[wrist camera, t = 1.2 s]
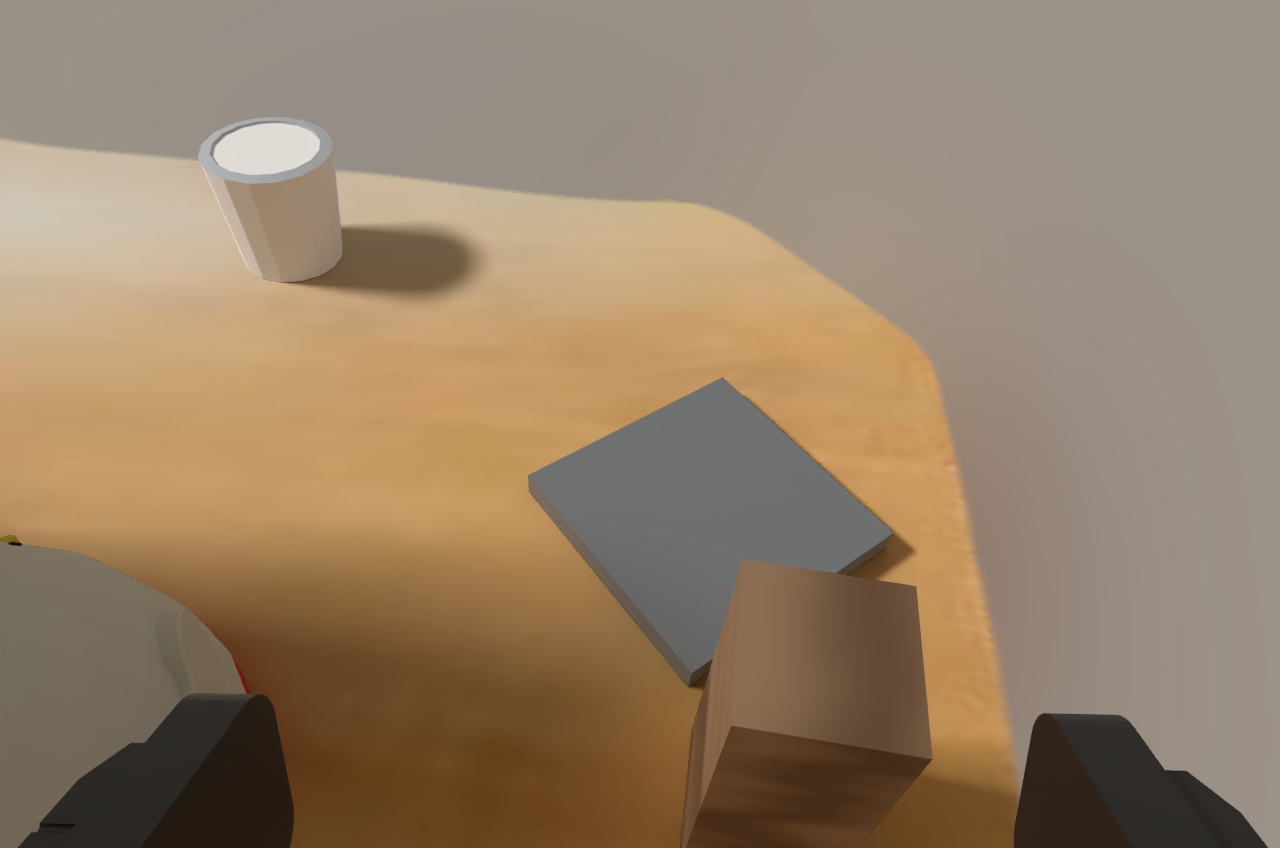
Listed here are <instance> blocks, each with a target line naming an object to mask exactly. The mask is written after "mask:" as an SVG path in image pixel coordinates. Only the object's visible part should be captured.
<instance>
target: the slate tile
mask: <svg viewBox="0 0 1280 848" xmlns="http://www.w3.org/2000/svg"><path fill="white" fill-rule="evenodd" d="M528 481H529V492H530V493H531V494H532V496H533V497H534V498H535V499H536V501H537V502H538V503H539V504H540V506H541V507H542V508H543V509H544V510H545V512H546V513H547V514H548V515H549V517H550V518H551V519H552V520H553V521H554V523H555V524H556V525H557V526H558V528H559V529H560V530H561V531H562V533H563V534H564V535H565V536H566V537H567V539H568V540H569V541H570V542H571V544H572V545H573V546H574V547H575V549H576V550H577V551H578V552H579V553H580V555H581V556H582V557H583V558H584V560H585V561H586V562H587V563H588V565H589V566H590V567H591V568H592V569H593V571H594V572H595V573H596V574H597V576H598V577H599V578H600V579H601V581H602V582H603V583H604V584H605V585H606V587H607V588H608V589H609V590H610V592H611V593H612V594H613V595H614V596H615V598H616V599H617V600H618V601H619V603H620V604H621V605H622V606H623V608H624V609H625V610H626V611H627V612H628V614H629V615H630V616H631V617H632V619H633V620H634V621H635V622H636V624H637V625H638V626H639V627H640V628H641V630H642V631H643V632H644V633H645V635H646V636H647V637H648V638H649V640H650V641H651V642H652V643H653V644H654V646H655V647H656V648H657V649H658V651H659V652H660V653H661V654H662V656H663V657H664V658H665V659H666V660H667V662H668V663H669V664H670V665H671V667H672V668H673V669H674V670H675V671H676V673H677V674H678V675H679V676H680V678H681V679H682V680H683V681H684V683H685V684H686V685H687V686H688V687H689V686H690V685H692V684H693V683H694V682H696V681H697V680H699V679H700V678H701V677H703V676H704V675H706V674H707V673H709V670H710V667H711V664H712V660H713V657H714V654H715V650H716V647H717V643H718V640H719V637H720V633H721V630H722V626H723V623H724V620H725V616H726V613H727V610H728V606H729V603H730V599H731V596H732V593H733V589H734V586H735V582H736V579H737V576H738V572H739V569H740V566H741V562H742V559H748V560H754V561H761V562H767V563H773V564H779V565H786V566H792V567H798V568H804V569H811V570H817V571H823V572H829V573H836V574H842V575H848V574H849V573H851V572H852V571H854V570H855V569H856V568H858V567H859V566H861V565H862V564H864V563H865V562H866V561H868V560H869V559H871V558H872V557H874V556H875V555H876V554H878V553H879V552H881V551H882V550H883V549H885V548H886V547H887V545H888V543H889V541H890V539H891V537H892V535H893V532H892V531H891V530H890V529H889V528H888V527H886V526H885V525H884V524H883V523H882V522H881V521H880V520H879V519H878V518H877V517H875V516H874V515H873V514H872V513H871V512H870V511H869V510H868V509H867V508H866V507H865V506H863V505H862V504H861V503H860V502H859V501H858V500H857V499H856V498H855V497H854V496H852V495H851V494H850V493H849V492H848V491H847V490H846V489H845V488H844V487H843V486H841V485H840V484H839V483H838V482H837V481H836V480H835V479H834V478H833V477H832V476H830V475H829V474H828V473H827V472H826V471H825V470H824V469H823V468H822V467H821V466H820V465H818V464H817V463H816V462H815V461H814V460H813V459H812V458H811V457H810V456H809V455H807V454H806V453H805V452H804V451H803V450H802V449H801V448H800V447H799V446H798V445H796V444H795V443H794V442H793V441H792V440H791V439H790V438H789V437H788V436H787V435H786V434H784V433H783V432H782V431H781V430H780V429H779V428H778V427H777V426H776V425H775V424H773V423H772V422H771V421H770V420H769V419H768V418H767V417H766V416H765V415H764V414H762V413H761V412H760V411H759V410H758V409H757V408H756V407H755V406H754V405H753V404H752V403H750V402H749V401H748V400H747V399H746V398H745V397H744V396H743V395H742V394H741V393H739V392H738V391H737V390H736V389H735V388H734V387H733V386H732V385H731V384H730V383H728V382H727V381H726V380H725V379H724V378H723V377H722V378H720V379H718V380H716V381H714V382H712V383H710V384H708V385H706V386H704V387H702V388H700V389H698V390H696V391H694V392H692V393H691V394H689V395H687V396H685V397H683V398H681V399H679V400H677V401H675V402H673V403H671V404H669V405H667V406H665V407H663V408H661V409H659V410H657V411H655V412H653V413H651V414H649V415H647V416H645V417H643V418H641V419H639V420H637V421H635V422H633V423H631V424H629V425H627V426H625V427H623V428H621V429H619V430H617V431H615V432H613V433H611V434H609V435H607V436H605V437H603V438H601V439H599V440H597V441H595V442H593V443H591V444H589V445H587V446H585V447H583V448H581V449H579V450H577V451H575V452H573V453H571V454H569V455H567V456H565V457H563V458H561V459H559V460H557V461H555V462H553V463H551V464H549V465H547V466H546V467H544V468H542V469H540V470H538V471H536V472H534V473H532V474H530V475H528Z"/></svg>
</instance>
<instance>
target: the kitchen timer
mask: <svg viewBox="0 0 1280 848" xmlns="http://www.w3.org/2000/svg"><path fill="white" fill-rule="evenodd" d="M192 693H216V694H250V692H249V690H248V687H247V685H246V682H245V679H244V677H243V674H242V672H241V670H240V669H239V667H238V665H237V663H236V662H235V660H234V658H233V656H232V655H231V653H230V652H229V651H228V650H227V649H226V647H225V646H224V645H223V644H222V643H221V642H220V641H219V640H218V639H217V638H216V637H215V636H214V635H213V633H212V632H211V631H210V630H209V629H208V628H207V627H206V626H205V625H204V624H203V623H202V622H201V621H200V620H199V619H198V617H197V616H196V615H195V614H194V613H192V612H191V611H190V610H189V609H188V608H187V607H185V606H184V605H182V604H181V603H179V602H178V601H176V600H174V599H173V598H171V597H169V596H167V595H165V594H163V593H162V592H160V591H158V590H156V589H154V588H152V587H150V586H148V585H146V584H144V583H142V582H140V581H138V580H136V579H134V578H132V577H130V576H128V575H126V574H124V573H122V572H120V571H118V570H116V569H114V568H112V567H110V566H108V565H106V564H103V563H101V562H99V561H97V560H95V559H93V558H90V557H87V556H84V555H81V554H77V553H73V552H68V551H62V550H56V549H50V548H43V547H37V546H30V545H24V544H22V543H20V542H19V541H18V539H17V538H16V537H15V536H13V535H8V536H5V537H2V538H0V848H18V846H19V845H20V844H21V843H22V842H23V841H24V840H25V839H26V837H27V836H28V835H29V834H30V833H31V832H37V831H38V829H39V826H40V824H39V823H40V822H41V821H42V820H43V818H44V817H45V816H46V815H47V814H48V813H49V812H50V811H51V810H52V808H53V807H54V806H55V805H56V804H57V803H58V802H59V801H60V799H61V798H62V797H63V796H64V795H65V794H66V793H67V792H68V791H69V789H70V788H71V787H72V786H73V785H74V784H75V783H76V782H77V780H78V779H80V778H81V777H82V776H84V775H85V774H87V773H88V772H90V771H91V770H92V769H94V768H95V767H97V766H98V765H100V764H101V763H103V762H104V761H105V760H107V759H108V758H110V757H111V756H113V755H114V754H115V753H117V752H118V751H120V750H121V749H123V748H124V747H126V746H127V745H128V744H130V743H145V742H146V741H147V739H148V738H149V737H150V736H151V735H152V733H153V732H154V731H155V730H156V729H157V728H158V726H159V725H160V724H161V723H162V722H163V720H164V719H165V718H166V717H167V716H168V714H169V713H170V712H171V711H172V710H173V709H174V707H175V706H176V705H177V704H178V703H179V702H180V701H181V700H182V699H183V698H184V697H186V696H187V695H190V694H192Z"/></svg>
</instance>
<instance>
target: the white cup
mask: <svg viewBox="0 0 1280 848" xmlns="http://www.w3.org/2000/svg"><path fill="white" fill-rule="evenodd" d="M198 159H199V162H200V164H201V166H202V168H203V171H204V173H205V175H206V177H207V179H208V182H209V184H210V186H211V188H212V191H213V193H214V195H215V197H216V199H217V202H218V204H219V206H220V208H221V211H222V213H223V215H224V217H225V219H226V222H227V224H228V226H229V228H230V231H231V233H232V235H233V237H234V240H235V242H236V244H237V246H238V248H239V251H240V253H241V255H242V257H243V260H244V262H245V263H246V265H247V267H248V268H249V270H250V272H252V273H254V274H255V275H257V276H259V277H261V278H263V279H265V280H271V281H276V282H297V281H304V280H307V279H311V278H314V277H317V276H320V275H322V274H324V273H325V272H327V271H328V270H330V269H331V268H333V267H334V266H335V265H336V264H337V262H338V261H339V260H340V258H341V257H342V250H343V243H342V234H341V224H340V214H339V204H338V194H337V184H336V174H335V165H334V155H333V145H332V139H331V138H330V137H329V136H328V135H327V133H326V132H325V131H324V130H323V129H322V128H320V127H318V126H316V125H313V124H311V123H309V122H307V121H302V120H297V119H291V118H284V117H274V118H256V119H252V120H247V121H242V122H238V123H234V124H232V125H230V126H227V127H225V128H223V129H221V130H219V131H216V132H214V133H213V134H212V135H211V136H210V137H209V138H208V139H207V140H206V141H205V142H204V143H202V145H201V147H200V151H199V156H198Z"/></svg>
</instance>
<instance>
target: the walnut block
mask: <svg viewBox="0 0 1280 848" xmlns="http://www.w3.org/2000/svg"><path fill="white" fill-rule="evenodd" d="M931 760H932V749H931V738H930V728H929V717H928V707H927V696H926V685H925V675H924V664H923V653H922V643H921V632H920V622H919V611H918V600H917V590H916V586H910V585H904V584H898V583H892V582H886V581H879V580H873V579H867V578H861V577H854V576H848V575H842V574H836V573H829V572H823V571H817V570H811V569H804V568H798V567H792V566H786V565H779V564H773V563H767V562H761V561H754V560H748V559H742V562H741V566H740V569H739V572H738V576H737V579H736V582H735V586H734V589H733V593H732V596H731V599H730V603H729V606H728V610H727V613H726V616H725V620H724V623H723V626H722V630H721V633H720V637H719V640H718V643H717V647H716V650H715V654H714V657H713V660H712V664H711V667H710V670H709V674H708V677H707V681H706V684H705V687H704V691H703V694H702V698H701V701H700V704H699V708H698V711H697V714H696V718H695V721H694V725H693V728H692V734H691V744H690V754H689V764H688V774H687V784H686V794H685V804H684V814H683V824H682V834H681V844H680V848H858V847H859V845H860V844H861V843H862V842H863V841H864V840H865V838H866V837H867V836H868V835H869V834H870V832H871V831H872V830H873V829H874V828H875V827H876V825H877V824H878V823H879V822H880V821H881V819H882V818H883V817H884V816H885V815H886V814H887V812H888V811H889V810H890V809H891V808H892V806H893V805H894V804H895V803H896V802H897V801H898V799H899V798H900V797H901V796H902V795H903V793H904V792H905V791H906V790H907V789H908V788H909V786H910V785H911V784H912V783H913V782H914V780H915V779H916V778H917V777H918V776H919V775H920V773H921V772H922V771H923V770H924V769H925V767H926V766H927V765H928V764H929V763H930V762H931Z"/></svg>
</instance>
